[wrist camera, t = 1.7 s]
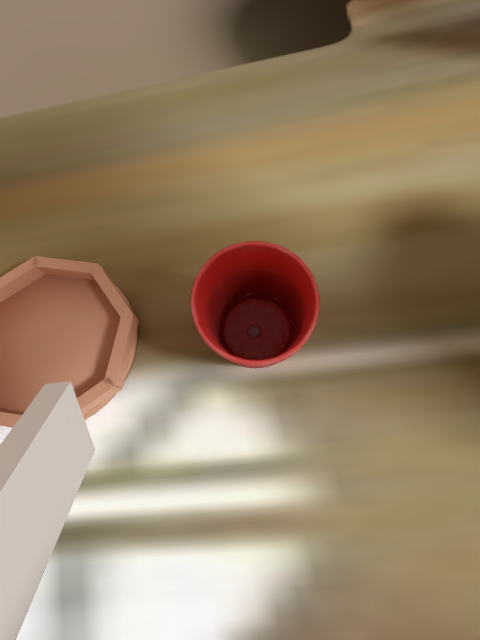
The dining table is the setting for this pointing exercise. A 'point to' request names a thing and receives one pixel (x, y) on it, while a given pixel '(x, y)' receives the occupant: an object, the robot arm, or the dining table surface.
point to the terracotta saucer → (63, 334)
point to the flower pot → (255, 303)
